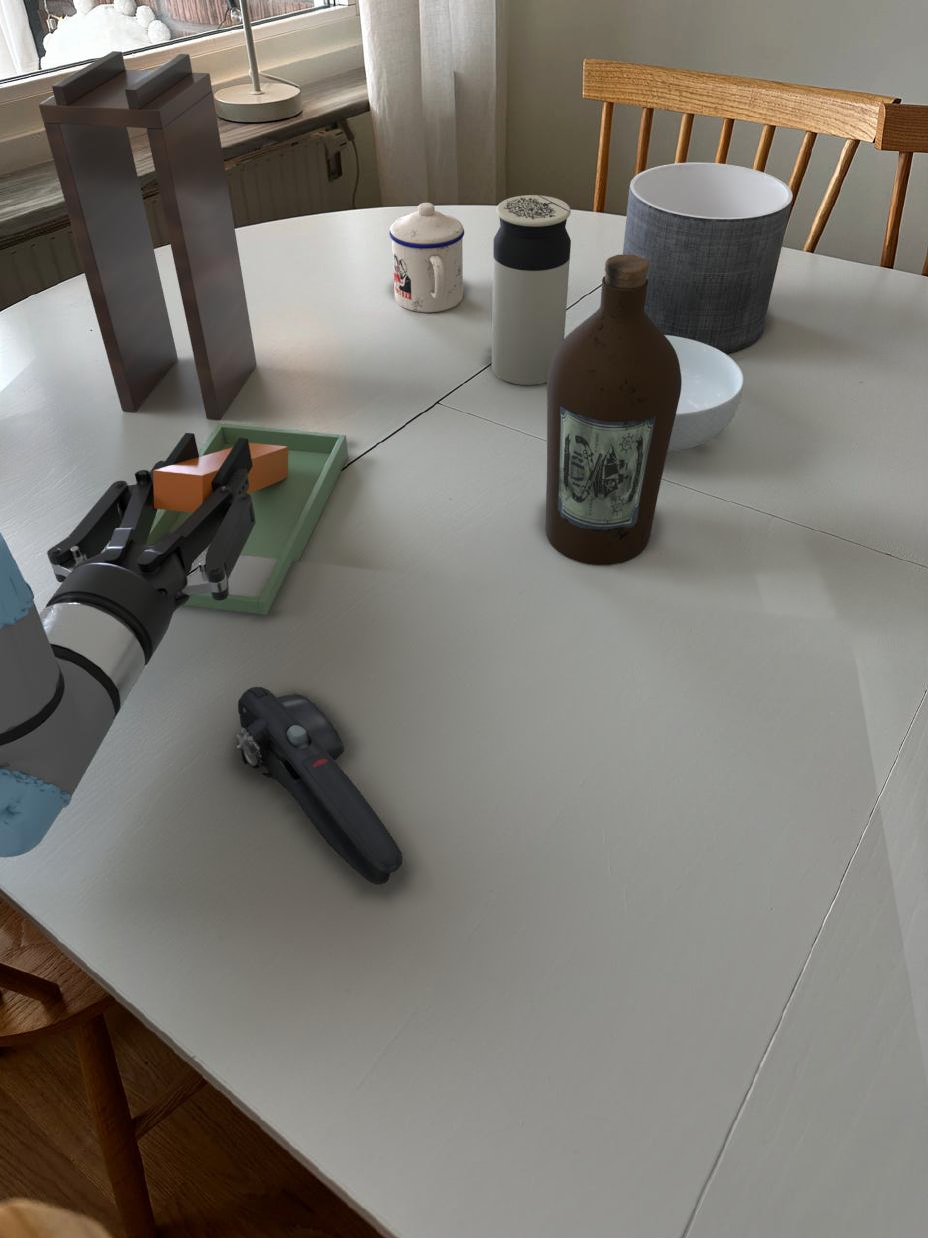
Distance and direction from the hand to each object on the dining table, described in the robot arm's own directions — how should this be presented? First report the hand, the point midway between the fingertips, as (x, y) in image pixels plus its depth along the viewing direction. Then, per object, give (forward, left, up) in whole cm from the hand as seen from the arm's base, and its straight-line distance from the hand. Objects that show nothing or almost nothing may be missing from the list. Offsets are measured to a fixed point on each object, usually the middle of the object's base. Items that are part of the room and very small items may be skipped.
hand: (219, 449), depth 82 cm
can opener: (+16, -27, -9) cm, 33 cm away
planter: (+40, +50, -9) cm, 64 cm away
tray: (0, +2, -9) cm, 9 cm away
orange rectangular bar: (0, 0, -4) cm, 4 cm away
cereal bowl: (+36, +24, -9) cm, 44 cm away
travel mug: (+22, +35, -9) cm, 42 cm away
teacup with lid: (+8, +50, -9) cm, 51 cm away
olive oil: (+32, +6, -9) cm, 34 cm away
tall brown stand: (-14, +25, -9) cm, 30 cm away
